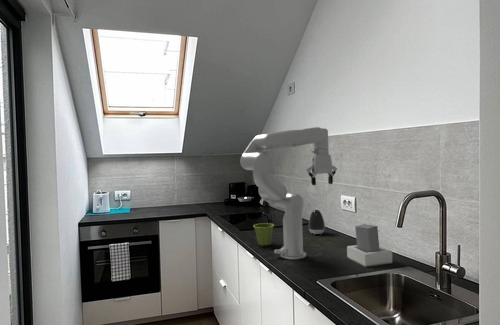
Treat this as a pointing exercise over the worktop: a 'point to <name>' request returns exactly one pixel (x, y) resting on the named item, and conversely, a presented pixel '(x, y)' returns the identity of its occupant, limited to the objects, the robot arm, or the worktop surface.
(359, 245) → the skincare box
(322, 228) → the black rounded dome
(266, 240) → the plant pot
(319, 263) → the worktop surface
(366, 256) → the box
